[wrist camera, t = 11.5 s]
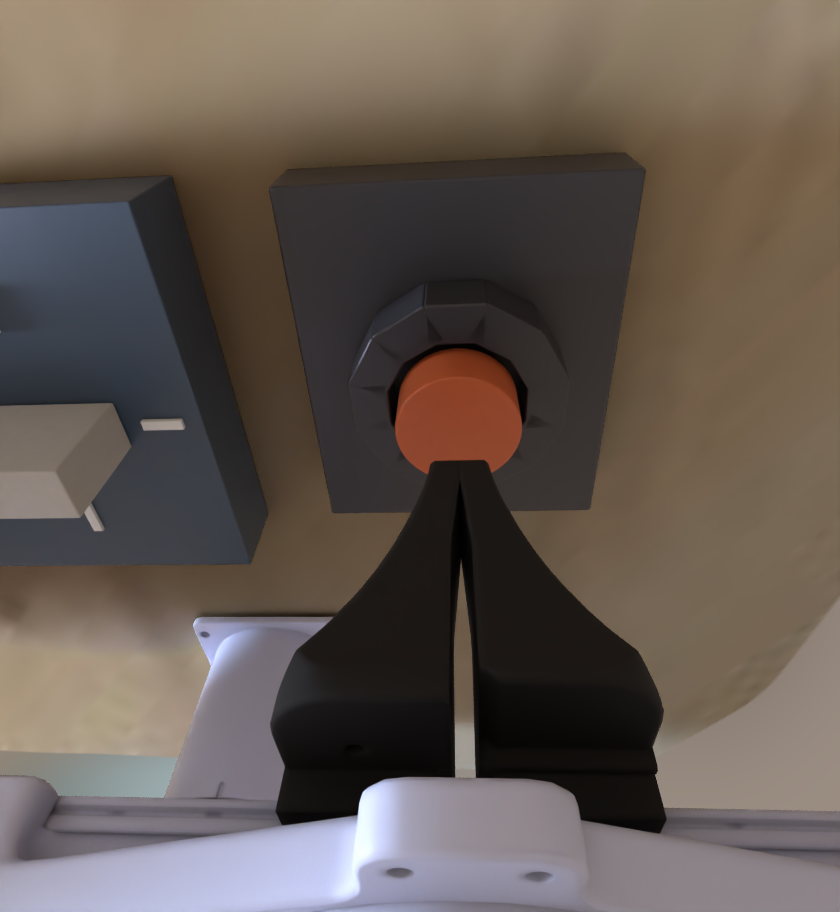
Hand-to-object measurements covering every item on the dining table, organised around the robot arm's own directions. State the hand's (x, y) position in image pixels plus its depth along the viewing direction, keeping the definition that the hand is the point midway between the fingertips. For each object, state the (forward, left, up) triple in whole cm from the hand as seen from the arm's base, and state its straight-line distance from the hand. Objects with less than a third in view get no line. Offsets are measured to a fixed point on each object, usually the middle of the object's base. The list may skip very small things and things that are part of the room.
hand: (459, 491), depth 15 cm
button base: (0, 0, -8) cm, 8 cm away
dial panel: (-1, +14, -8) cm, 16 cm away
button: (0, 0, -4) cm, 4 cm away
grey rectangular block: (-1, +14, -5) cm, 15 cm away
